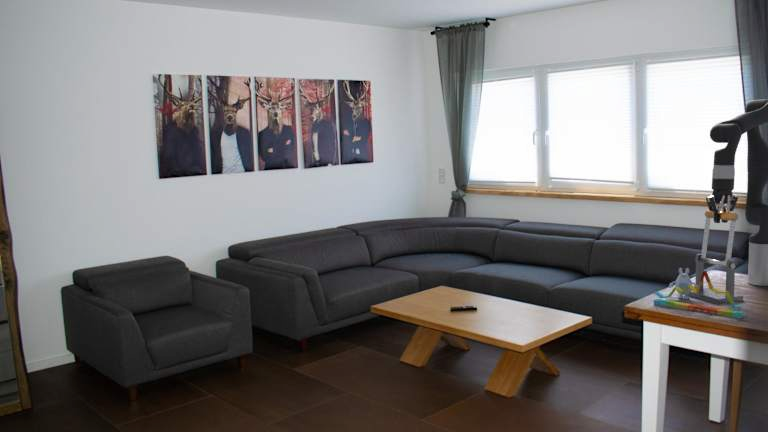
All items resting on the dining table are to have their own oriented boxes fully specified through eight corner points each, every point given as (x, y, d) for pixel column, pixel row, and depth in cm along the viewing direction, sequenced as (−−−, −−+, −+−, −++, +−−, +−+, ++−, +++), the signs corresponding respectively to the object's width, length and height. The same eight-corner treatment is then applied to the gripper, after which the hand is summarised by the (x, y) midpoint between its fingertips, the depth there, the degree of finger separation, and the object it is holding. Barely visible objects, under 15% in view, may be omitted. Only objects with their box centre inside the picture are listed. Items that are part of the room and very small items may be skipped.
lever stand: (708, 291, 273) (709, 252, 271) (745, 301, 256) (746, 259, 254) (684, 294, 269) (685, 254, 267) (719, 305, 252) (720, 262, 250)
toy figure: (667, 299, 263) (668, 268, 262) (669, 295, 269) (669, 265, 267) (698, 301, 258) (698, 270, 257) (698, 297, 264) (699, 267, 263)
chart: (653, 305, 256) (653, 266, 255) (657, 303, 259) (657, 264, 257) (739, 319, 234) (740, 276, 233) (742, 317, 237) (744, 275, 235)
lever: (704, 261, 267) (711, 210, 266) (731, 267, 255) (738, 213, 254) (698, 261, 266) (705, 209, 265) (725, 267, 254) (732, 212, 253)
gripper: (729, 176, 264) (727, 221, 265) (700, 177, 259) (698, 222, 261) (745, 177, 257) (743, 223, 258) (716, 178, 252) (713, 224, 254)
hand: (720, 222), depth 260 cm, fingers closed on lever, 3 cm apart
